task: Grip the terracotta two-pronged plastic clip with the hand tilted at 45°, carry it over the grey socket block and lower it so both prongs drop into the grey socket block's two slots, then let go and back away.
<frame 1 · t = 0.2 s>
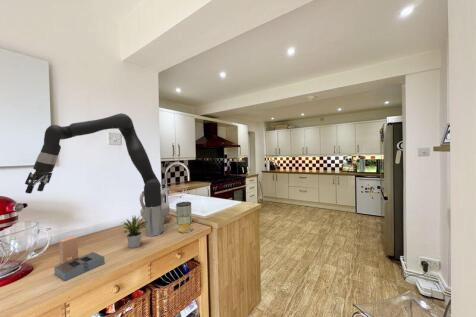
hand: (34, 192, 101), 31 cm above the counter, tool tilted 20°, fingers open, 8 cm apart
grey socket block: (80, 268, 84), on the counter
coffee can: (184, 223, 139), on the counter
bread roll: (185, 231, 125), on the counter
ceramic pitcher: (154, 223, 141), on the counter
clip: (69, 262, 90), on the counter
house plant: (133, 247, 103), on the counter
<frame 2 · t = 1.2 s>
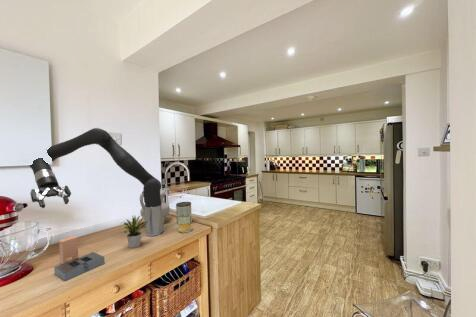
hand: (55, 204, 96), 25 cm above the counter, tool tilted 45°, fingers open, 8 cm apart
nothing on the counter moved.
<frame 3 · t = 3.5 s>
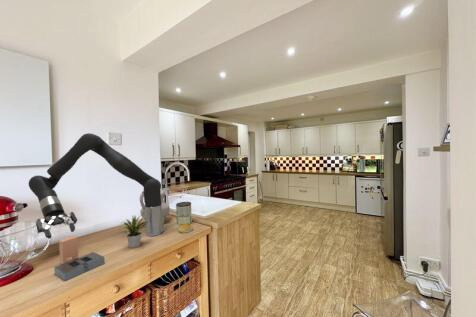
hand: (62, 234, 93), 12 cm above the counter, tool tilted 45°, fingers open, 8 cm apart
nothing on the counter moved.
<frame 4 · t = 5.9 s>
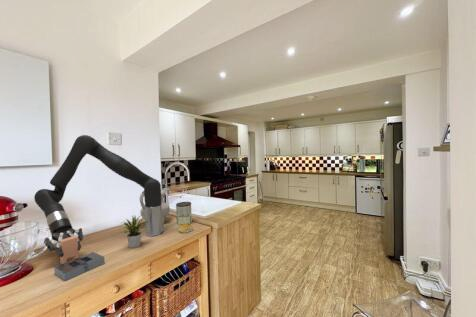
hand: (70, 252, 89), 5 cm above the counter, tool tilted 45°, fingers closed on clip, 5 cm apart
clip: (69, 262, 90), on the counter, touching gripper
everything else where it was.
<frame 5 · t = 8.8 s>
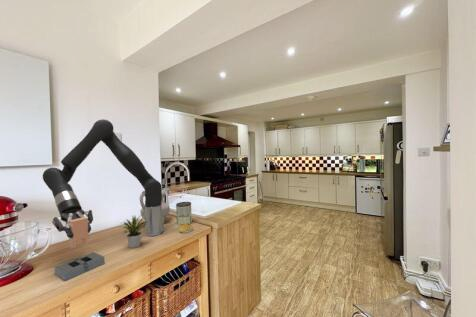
hand: (80, 234, 83), 15 cm above the counter, tool tilted 45°, fingers closed on clip, 5 cm apart
clip: (79, 244, 84), point 10 cm above the counter, touching gripper
everything else where it was.
when the fingers open (6 cm above the counter, at t = 11.8 s): clip stays where it is, resting on grey socket block.
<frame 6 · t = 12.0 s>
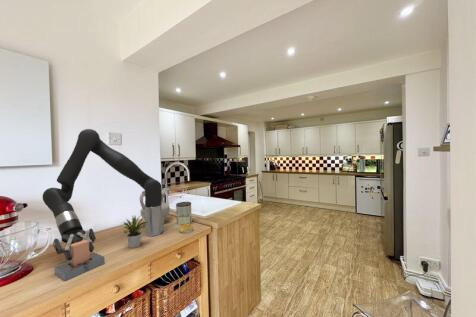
hand: (81, 255, 83), 6 cm above the counter, tool tilted 45°, fingers open, 7 cm apart
clip: (80, 268, 84), resting on grey socket block
everything else where it was.
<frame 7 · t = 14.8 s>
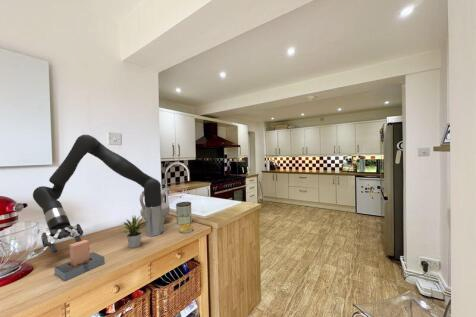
hand: (68, 248, 90), 6 cm above the counter, tool tilted 45°, fingers open, 8 cm apart
nothing on the counter moved.
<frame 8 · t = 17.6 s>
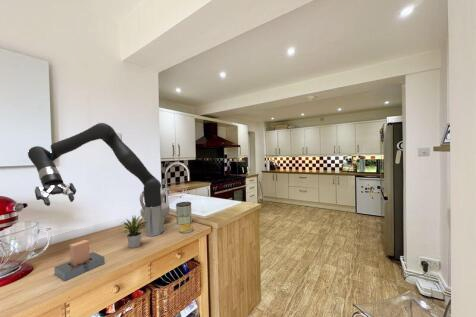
hand: (61, 202, 93), 27 cm above the counter, tool tilted 45°, fingers open, 8 cm apart
nothing on the counter moved.
at the end: clip 0.1 cm off-centre on the grey socket block, point 0.2 cm above the grey socket block's base; clip tilted 0°; the gripper is holding nothing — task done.
